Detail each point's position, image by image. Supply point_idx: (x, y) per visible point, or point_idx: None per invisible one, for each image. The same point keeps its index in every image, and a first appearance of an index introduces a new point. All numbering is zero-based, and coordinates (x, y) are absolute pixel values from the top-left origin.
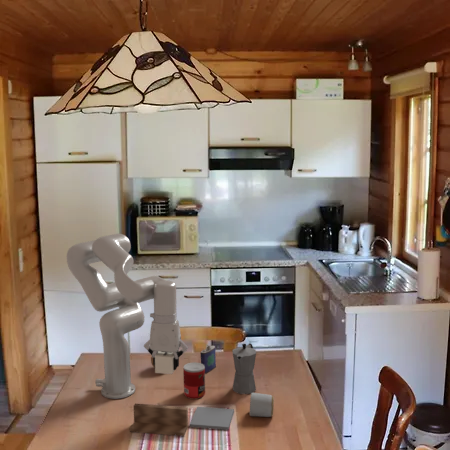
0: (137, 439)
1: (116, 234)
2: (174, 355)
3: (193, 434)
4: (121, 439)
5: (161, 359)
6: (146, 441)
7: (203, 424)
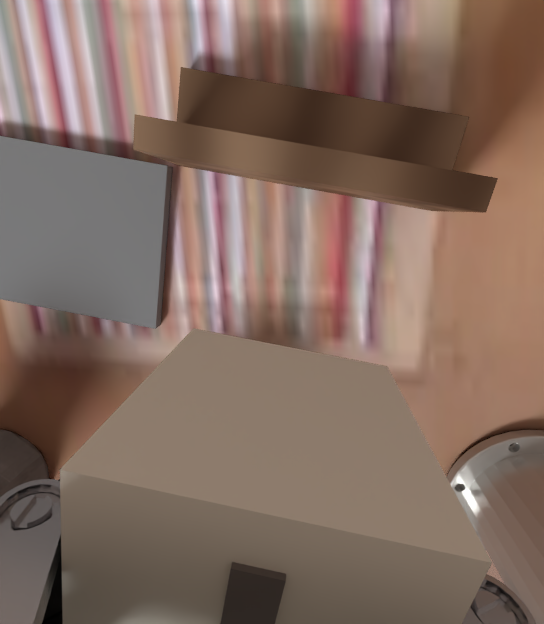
0: (420, 38)
1: None
2: (38, 550)
3: (145, 93)
4: (507, 37)
5: (320, 469)
6: (371, 16)
7: (101, 160)
